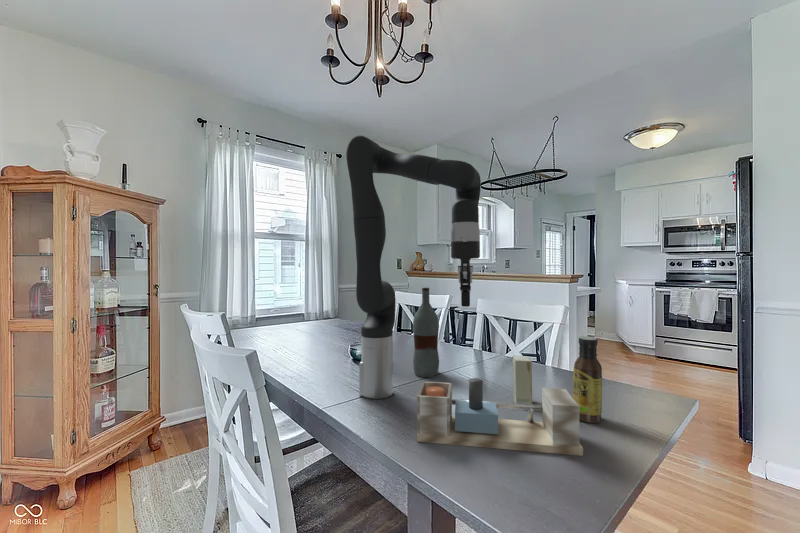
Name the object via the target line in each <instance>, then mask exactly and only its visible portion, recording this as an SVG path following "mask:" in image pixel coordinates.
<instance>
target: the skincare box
mask: <svg viewBox="0 0 800 533" xmlns="http://www.w3.org/2000/svg"><path fill="white" fill-rule="evenodd" d="M532 364H533V362H532V360H531V358H530V357H529V356H527V355H526V356H525V355H512V382H513V384H512V386H513V391H512V392H513V397H512V398H513V401H514V402H513V403H520V404H533V374H532V373H533V366H532Z"/></svg>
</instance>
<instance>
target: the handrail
mask: <svg viewBox="0 0 800 533" xmlns="http://www.w3.org/2000/svg"><path fill="white" fill-rule="evenodd" d="M456 400H458V399H457V398H456V399H453V398H452V406H456ZM459 400H460V401H469V399H459ZM483 402H491V403H496V407H497V409H499V408H500V409H512V410H514V409H515V410H527V421H528V422H529V423H534V422H535V421H534V420H535V418H534V414H535V413H534V412H535V411H542V410H543V407H542V404H533V403H532V404H520V403H515V402H505V401H504V402H501V401H488V400H487V401H486V400H483Z"/></svg>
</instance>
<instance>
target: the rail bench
mask: <svg viewBox="0 0 800 533" xmlns="http://www.w3.org/2000/svg"><path fill="white" fill-rule="evenodd" d="M452 386H453V384H452V382H441V381H439V382H436V381H422V383H421V385H420V387H419V390H418V392H417V395H416V430H417V431H416V442H419V443H430V444H431V443H432V444H442V445H455V446H467V447H476V448H477V447H478V448H489V449H490V448H491V449H501V450H511V451H522V452H533V453H534V452H536V453H546V454H547V453H548V454H558V455H559V454H560V455H571V456H580V457H582V456H583V457H584V447H583V446H582V444H581V443H580V420H579V405H578V404H577V403H576V402H575V400H574V399H573V396H572V395H571V394H570V393H569V392H568V390H567V389H566V388H551V387H550V388H548V387H547V388H546V387H542V389H541V393H542V395H541V397H542V402H541V403H542V404H541V405H542V407H543V410H541V413H542V415H541V416H542V417H541V418H542V421H534V423H529V422H528V420H520V419H518V420H517V419H504V418H498V434H488V433H476V432H463V431H455V415H452V414H453V412H452V411H453V405H452V399H453V397H452V396H453V394H452V393H453V392H452V391H453V387H452ZM428 387H441V388H443V389H444V397H438V396H427V395H426V389H427V388H428Z"/></svg>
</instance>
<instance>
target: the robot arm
mask: <svg viewBox="0 0 800 533" xmlns="http://www.w3.org/2000/svg"><path fill="white" fill-rule="evenodd" d="M345 150H346V152H345V156H346V157H345V158H346V164H347V171H348V176H349V183H350V188H351V201H352V212H353V214H352V218H353V232H354V240H355V242H354V243H355V257H356V284H355V285H356V291H355V294H356V295H355V296H356V302H357V305H358V307H359V309H361V311H362V312H364V313H366V319H365V321H364V322H363V324H362V326H361V328H360V329H361V332H360V334H361V336H360V337H361V338H360V341H361V342H360V343H361V346H360V347H361V348H360V350H361V354H360V355H361V358H360V362H359V364H358V370H359V371H358V374H359V375H358V376H359V377H358V378H359V379H358V382H359V384H358V385H359V386H358V388H359V390H358V391H359V396H360V397H364V398H367V399H376V400H377V399H385V398H388V397H391V396H392V395H393V394H394V393H393V392H394V389H393V388H394V380H393V378H394V374H393V373H394V372H393V370H394V369H393V368H394V366H393V365H394V364H393V362H394V360H393V358H394V357H393V356H394V355H393V352H394V351H393V348H394V346H393V334H394V333H393V332H394V330H393V329H394V326H395V321H396V293H395V292H396V291H395V289H394V287H393V286H392V285H391V283H389V282H388V281H385V280H382V272H381V260H382V254H383V251H384V246H385V243H386V239H387V238H386V235H387V231H386V220H385V219H386V216H385V212H384V208H383V205H382V202H381V200H380V197H379V195H378V192H377V189H376V186H375V182H374V174H387V175H393V176H400V177H403V178H407V179H409V180H410V179H411V180H415V181H417V182H422V183H426V184H428V185H435V186H439V185H442V186H446V187H450V188H453V189H455V201H454V203H453V204H452V205H451V227H450V228H451V229H450V258H451V259H452V260H454V259H455V260H456V259H457V260H458V259H459V260H460V265H457V274H458V283H459V285H460V286H459V289H460V295H461V296H460V297H461V300H460V301H461V302H460V304H461V307H463V308H464V307H466V308H467V307H470V305H471V291H472V286H471V284H472V283H473V272H474V265H471V263H470V262H471V260H472V259H479V258H480V257H481V248H480V247H481V241H480V240H481V237H480V236H481V233H480V232H481V231H480V220H479V218H480V217H479V215H480V210H479V202H480V198H481V196H480V195H481V188H482V185H481V184H482V182H481V175H480V173H479V171H478V169H476V168H475V167H474V166H473V165H472V164H471V163H468V162H466V161H462V160H455V159H441V158H438V157H433V156H429V155H422V154H415V153H414V154H411V153H409V154H403V153H398V152H393V151H391V150H389V149H386V148H384V147H382V146H381V145H379V144H378V143H377V142H375V141H374V140H372V139H371V138H368V137H367V136H364V135H359V134H358V135H355V136H353V137H351V139H350V140H349V141H348V143H347V145H346V149H345Z"/></svg>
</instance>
